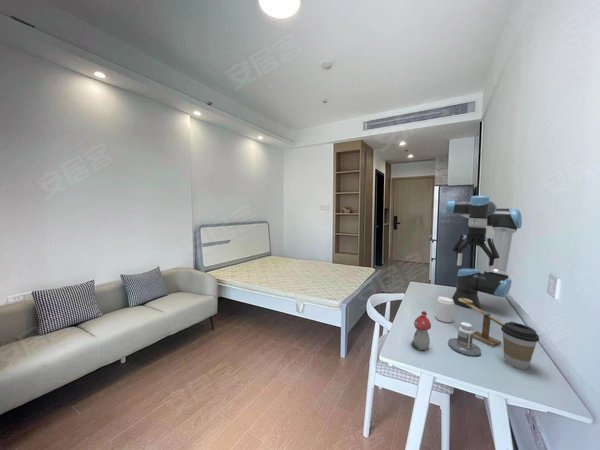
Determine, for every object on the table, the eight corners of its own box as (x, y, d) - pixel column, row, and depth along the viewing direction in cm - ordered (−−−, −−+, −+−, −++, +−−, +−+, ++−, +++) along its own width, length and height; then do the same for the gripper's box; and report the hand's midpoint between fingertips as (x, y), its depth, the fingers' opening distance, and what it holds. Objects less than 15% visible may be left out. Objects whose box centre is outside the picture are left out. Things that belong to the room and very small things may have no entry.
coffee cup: (535, 364, 97) (540, 328, 96) (535, 377, 89) (539, 338, 88) (499, 351, 105) (503, 318, 104) (495, 362, 97) (499, 326, 96)
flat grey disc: (457, 338, 115) (458, 336, 115) (486, 352, 104) (486, 349, 104) (442, 344, 109) (442, 341, 109) (470, 359, 99) (471, 356, 99)
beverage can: (455, 324, 129) (457, 302, 128) (438, 322, 131) (440, 300, 130) (449, 317, 137) (450, 297, 136) (433, 315, 139) (435, 295, 138)
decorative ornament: (419, 339, 112) (421, 308, 111) (433, 346, 107) (436, 314, 106) (407, 345, 107) (410, 313, 106) (422, 353, 101) (425, 319, 100)
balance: (460, 325, 127) (463, 297, 126) (523, 353, 104) (527, 318, 103) (452, 328, 124) (455, 298, 123) (515, 357, 101) (519, 321, 100)
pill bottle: (465, 342, 110) (467, 321, 109) (474, 349, 104) (477, 327, 103) (454, 342, 109) (456, 321, 108) (462, 349, 104) (464, 327, 103)
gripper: (447, 224, 130) (444, 263, 132) (503, 229, 108) (498, 275, 110) (456, 224, 134) (452, 262, 135) (511, 229, 111) (506, 274, 113)
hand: (473, 268), depth 123 cm, fingers open, 13 cm apart
